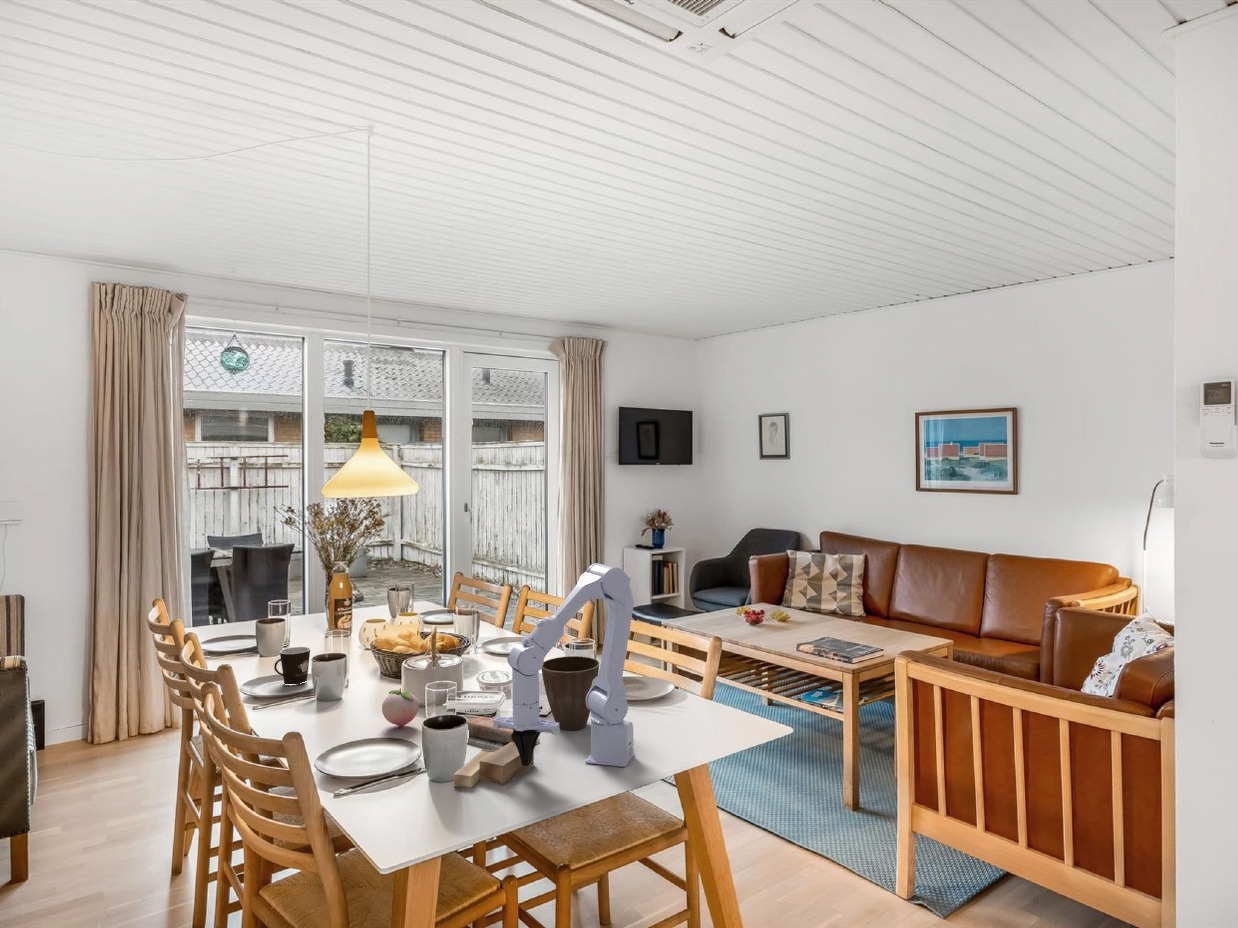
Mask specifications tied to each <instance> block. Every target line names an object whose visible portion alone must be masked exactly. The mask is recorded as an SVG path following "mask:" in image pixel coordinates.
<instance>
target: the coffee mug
mask: <svg viewBox="0 0 1238 928" xmlns="http://www.w3.org/2000/svg"><path fill="white" fill-rule="evenodd" d="M279 655H280V658H279V659H277V660H276V661H275V662H274V665H273V666H274V671H275V673H277V674H278V675H280V676H281V677H283V684H284V683H285V684H300V683H302V682H305V681H307V682H308V676H309V675H308V673H309V666H310V665H309V664H310V655H311V648H310V647H308V646H294V647H293V646H292V647H288V648H284V649H281V650H280V651H279ZM278 663H281V664H280V665H281V670H282V672H281V671H279V670H278V669H277V666H278Z"/></svg>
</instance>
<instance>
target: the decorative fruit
mask: <svg viewBox="0 0 1238 928" xmlns="http://www.w3.org/2000/svg"><path fill="white" fill-rule="evenodd" d="M401 688H402V687H400V688H399V689H393V690H390V691H389V692H388V694H389V695H388V696H387V697H385V699H384V700H383V702H382V705H381V711H382V715H383V717H384V718H385V720H386V722H389V723H390V724H392V725H395V726H397V727H400V728H401V727H405V726H406V725H407V724H409V723H410V722H412V721H413V720H414V719H415V718H416V717H417V715H418V712H419V709H420V703H419V699H418V698H417V697H416V696H415V695H414V694H413V693H411V692H402V690H401Z"/></svg>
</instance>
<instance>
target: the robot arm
mask: <svg viewBox="0 0 1238 928" xmlns="http://www.w3.org/2000/svg"><path fill="white" fill-rule="evenodd" d="M578 579H579V580H578V581H577V584H575V586H574V588H573V589H572V590H571V592H570V593H569V594H568V595H567V597H566V598H565V599H564V600H563V601H562V603H561V604H560V606H559V607H558V608H557V609H556V610H555V612H554V613H552V614H553V615H550V616H544V617H543V618H542V619H538V620H537V621H536V622H535V625H536V626H535V627H534V628H533V630H532V631H530V632H529V634H528V635H527V636H526V637H523V638H522V640H521V643H519V644H516V645H514V647H512V649H511V650H510V652H509V655H508V656H507V659H506V660H507V663H508V665H509V667H511V669H512V671H511V676H512V677H511V678H512V679H511V684H512V685H511V686H512V688H511V689H512V690H511V691H512V692H511V693H512V695H511V696H512V701H511V702H512V716H507V717H505V716H504V717H500V716H499V717H498V716H497V717H495V718H493V719H494V720H493V726H494V729H499V728H504V729H513V733H512V734H511V738H512V740H513V741H514V743H515V745H516V747H517V749H518V752H519V755H520V758H521V763H522V765H524V766H528V765H529V764H530V763H531V761H532V755H533V751H535V747H536V745H537V744H536V742H537V739H539V737H540V735H541V733H546V734H547V733H548V734H551V735H554V736H557V735H558V734H559V732H560V729H559V723H556V722H555V721H551V720H547V719H543V718H540V678H539V677H540V676H539V673H540V672H539V671H542V667H543V663H544V662H545V658H546V657H547V655H548V654H549V652H550V651H551V650H552V649H553V648H554V647H555V645H556V644H557V643H558V642H559V641H560V640H561V638H563V636H564V635H565V626H566V625H567V624H568V623H569V621H570V620H572V619H573V618H574V616H575V615H576V614H577V613H578V612H579V611H580V610H581V609H582V608H583V607H584V606H585V605H586V604H587V603H588V602H589V601H592V600H599V599H603V600H604V601H605V603H606V604H607V605H608V613H607V620H606V627H605V634H604V639H603V644H602V645H603V646H602V651H601V658H600V662H599V663H600V664H599V673H598V676H597V677H596V678H594V679H593V681H592V686H591V688H590V690H589V692H588V694H587V696H586V706H587V708H588V709H589V710H590V711H591V712H590V754H589V755H588V757H587V758H586V759H585V761H584V762H585V763H587V764H593V765H594V764H595V765H603V766H613V767H620V768H626V767H627V766H628V765H629V763H630V761H631V760H632V758H633V757H634V755H635V752H634V724H633V722H632V721H629V720H626V719H625V718H626V716H627V714H628V710H629V704H628V701H627V694H628V690H627V687H626V684H625V683H624V680H623V676H624V669H625V662H626V655H627V650H628V644H629V637H630V632H631V626H632V625H631V624H632V618H633V617H632V616H633V612H634V605H635V602H634V601H635V600H634V597H633V592H632V589H631V586H630V585H631V578H630V576H629V575H628V574H627V572H625V571H624V570H623V569H622V568H620V567H615V566H614V567H613V566H608V565H606V564H603V563H600V562H596V563H592V564H591V565H589V566H588V568H587V569H586V571H584V573H582V574H581V575H580V577H579V578H578Z"/></svg>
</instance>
